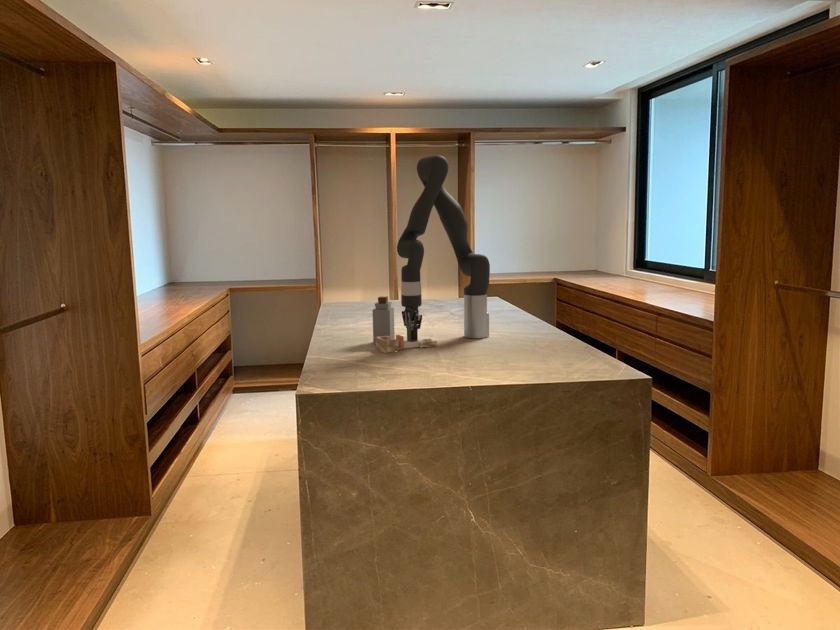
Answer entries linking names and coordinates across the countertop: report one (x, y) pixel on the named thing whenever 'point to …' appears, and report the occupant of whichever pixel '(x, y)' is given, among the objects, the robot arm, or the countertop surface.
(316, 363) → the countertop surface
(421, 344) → the rail guide
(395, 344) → the box
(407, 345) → the gray block
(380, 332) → the perfume bottle
